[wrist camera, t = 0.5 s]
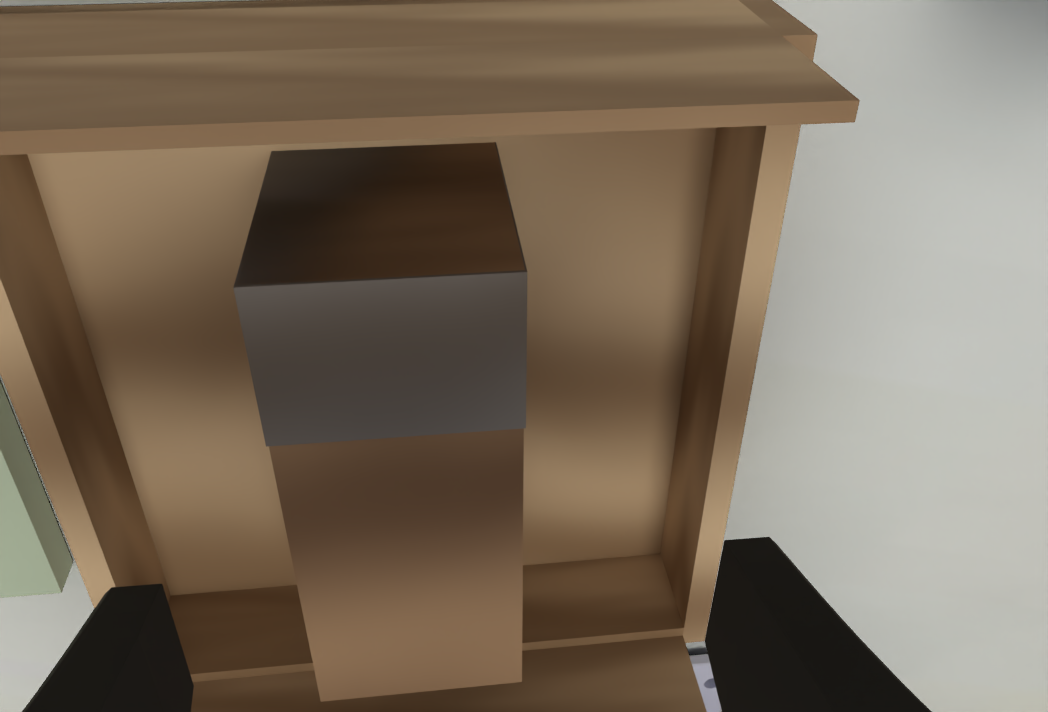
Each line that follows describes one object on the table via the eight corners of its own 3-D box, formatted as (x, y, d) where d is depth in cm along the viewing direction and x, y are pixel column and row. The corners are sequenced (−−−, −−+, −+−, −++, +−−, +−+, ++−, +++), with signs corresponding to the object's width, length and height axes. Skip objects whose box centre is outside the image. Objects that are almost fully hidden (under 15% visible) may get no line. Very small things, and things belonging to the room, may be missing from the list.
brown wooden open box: (675, 553, 26) (740, 749, 21) (155, 597, 24) (96, 819, 20) (757, -12, 17) (902, 99, 12) (-45, 7, 16) (-243, 140, 11)
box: (500, 513, 23) (524, 684, 19) (332, 527, 23) (319, 704, 19) (496, 141, 18) (527, 271, 14) (271, 150, 17) (233, 287, 13)
